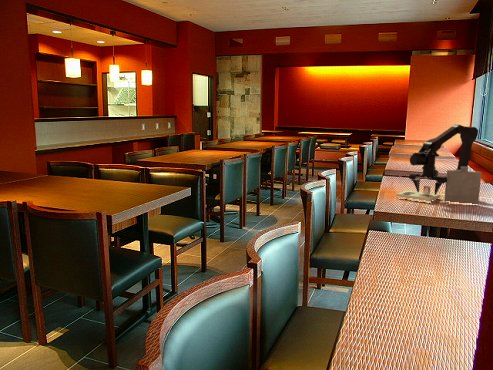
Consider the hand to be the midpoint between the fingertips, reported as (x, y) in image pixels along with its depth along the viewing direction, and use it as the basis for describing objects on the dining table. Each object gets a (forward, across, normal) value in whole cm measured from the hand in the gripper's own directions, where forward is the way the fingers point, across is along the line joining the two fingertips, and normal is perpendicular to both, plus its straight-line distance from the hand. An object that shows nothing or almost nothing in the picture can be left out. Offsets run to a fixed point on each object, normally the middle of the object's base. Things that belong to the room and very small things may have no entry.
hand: (426, 193), depth 228 cm
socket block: (+4, +4, 0) cm, 6 cm away
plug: (+4, 0, 0) cm, 4 cm away
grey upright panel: (+4, -16, -4) cm, 18 cm away
